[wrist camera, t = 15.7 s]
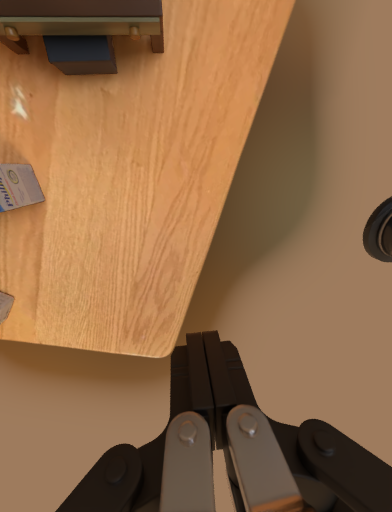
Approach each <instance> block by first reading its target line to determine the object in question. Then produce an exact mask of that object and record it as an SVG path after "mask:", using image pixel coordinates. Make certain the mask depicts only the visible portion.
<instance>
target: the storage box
mask: <svg viewBox="0 0 392 512" xmlns="http://www.w3.org/2000/svg"><path fill="white" fill-rule="evenodd" d="M43 39H44V43H45V47H46V51H47V55H48V59H49V62H50V63H51V64H54V65H55V66H56V67H57V68H58V69H59V70H60V71H62V72H63V73H64V74H65V75H86V74H117V67H116V60H115V54H114V48H113V41H112V35H43Z"/></svg>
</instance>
